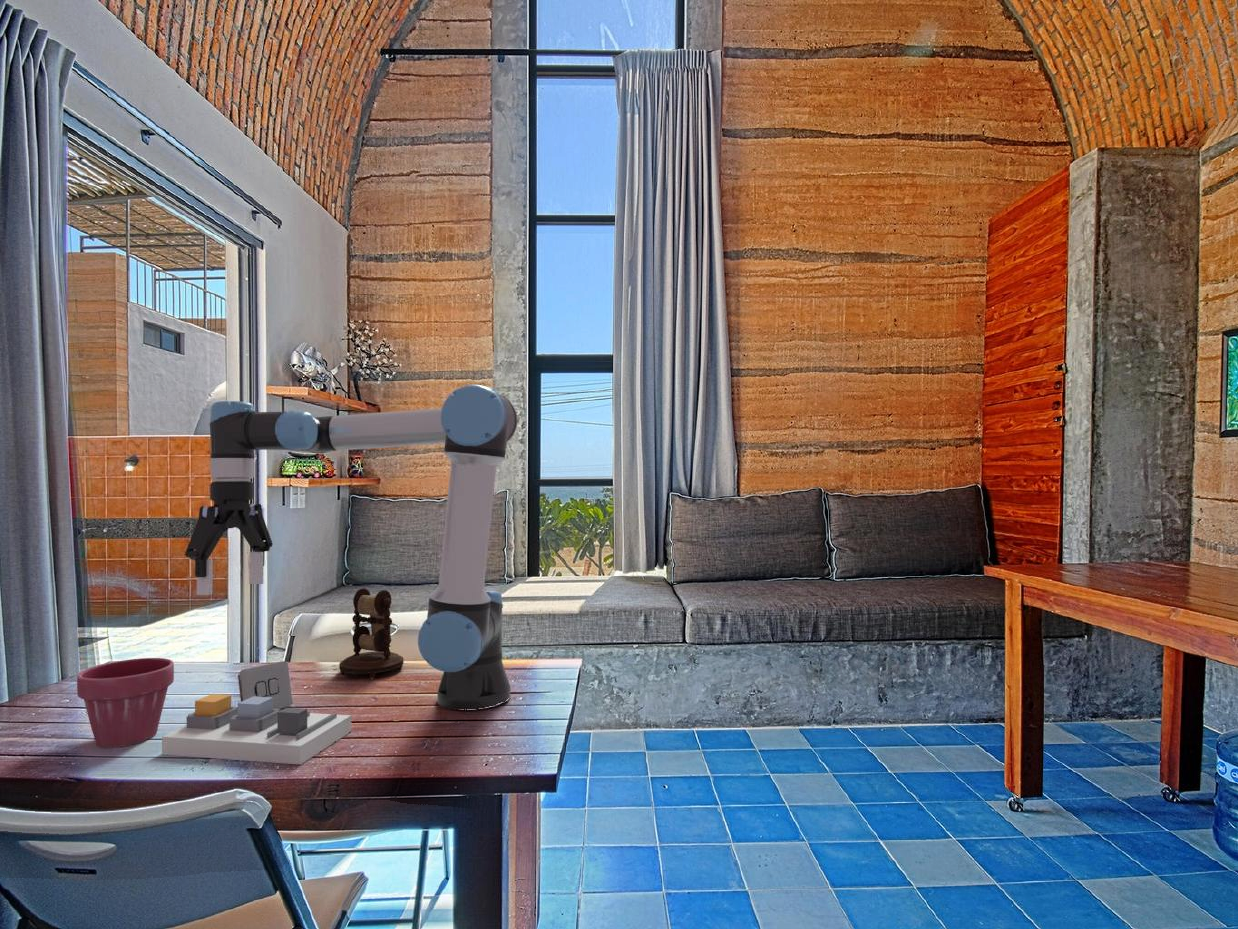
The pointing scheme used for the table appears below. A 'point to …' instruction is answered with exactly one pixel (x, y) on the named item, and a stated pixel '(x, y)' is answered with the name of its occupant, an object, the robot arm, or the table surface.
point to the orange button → (213, 705)
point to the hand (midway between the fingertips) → (231, 589)
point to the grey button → (255, 707)
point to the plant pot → (125, 699)
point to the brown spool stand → (371, 636)
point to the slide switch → (292, 720)
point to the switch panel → (254, 737)
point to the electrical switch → (267, 683)
